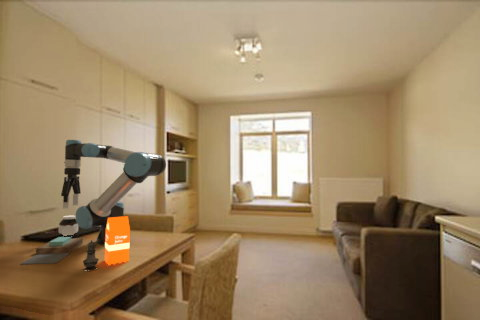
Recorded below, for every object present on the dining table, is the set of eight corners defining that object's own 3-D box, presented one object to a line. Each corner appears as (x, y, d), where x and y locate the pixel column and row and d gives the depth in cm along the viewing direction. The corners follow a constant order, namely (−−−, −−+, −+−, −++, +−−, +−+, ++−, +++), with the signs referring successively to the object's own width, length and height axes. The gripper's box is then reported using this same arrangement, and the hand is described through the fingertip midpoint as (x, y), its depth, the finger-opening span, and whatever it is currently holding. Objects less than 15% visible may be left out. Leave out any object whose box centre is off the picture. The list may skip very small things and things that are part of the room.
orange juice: (104, 260, 125) (105, 216, 125) (124, 257, 130) (126, 214, 131) (108, 265, 118) (109, 219, 119) (129, 261, 124) (130, 217, 124)
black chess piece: (87, 272, 110) (88, 242, 110) (79, 269, 113) (80, 240, 113) (101, 268, 115) (102, 239, 115) (93, 265, 118) (94, 237, 118)
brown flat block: (82, 243, 151) (82, 238, 151) (67, 253, 133) (68, 247, 134) (54, 244, 149) (54, 238, 149) (36, 254, 131) (36, 248, 131)
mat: (70, 253, 134) (70, 252, 134) (56, 263, 120) (56, 262, 120) (38, 254, 131) (38, 253, 131) (20, 264, 117) (20, 263, 117)
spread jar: (72, 232, 176) (72, 214, 176) (84, 234, 171) (84, 216, 172) (52, 236, 165) (53, 217, 165) (65, 239, 160) (66, 219, 161)
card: (71, 240, 146) (71, 236, 146) (62, 245, 136) (62, 241, 136) (58, 240, 145) (59, 237, 145) (49, 246, 135) (49, 241, 135)
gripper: (74, 167, 163) (72, 203, 163) (54, 167, 140) (52, 210, 139) (87, 167, 165) (86, 203, 164) (70, 167, 141) (68, 209, 140)
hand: (70, 206), depth 151 cm, fingers open, 12 cm apart
